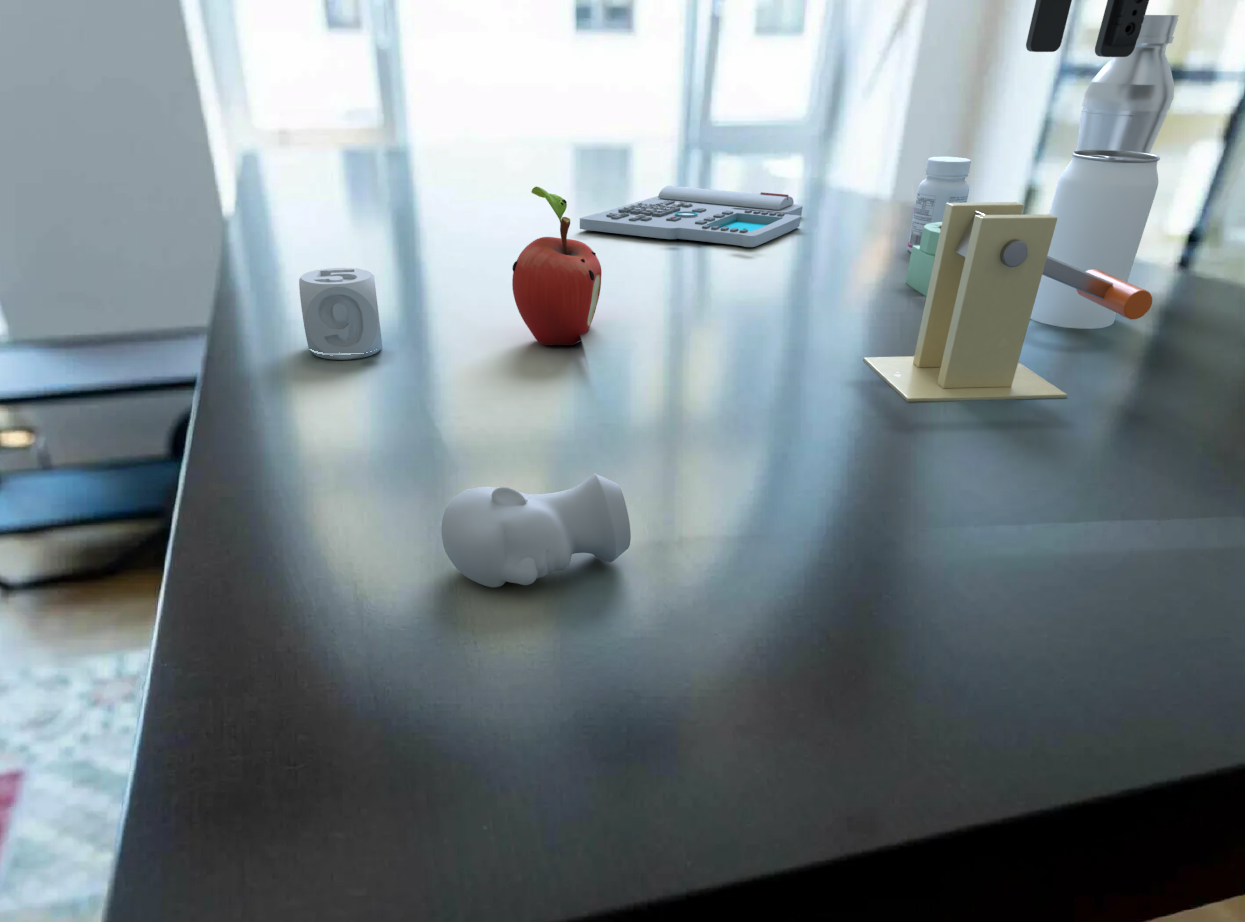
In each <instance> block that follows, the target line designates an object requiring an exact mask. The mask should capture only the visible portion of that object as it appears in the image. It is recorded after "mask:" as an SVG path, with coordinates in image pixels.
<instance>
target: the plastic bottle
mask: <svg viewBox="0 0 1245 922" xmlns="http://www.w3.org/2000/svg"><path fill="white" fill-rule="evenodd" d="M1179 17H1180V16H1179V15H1178V14H1145V15H1144V20H1143V23H1142V24H1141V25H1142V27H1141V31H1140V34H1139V37H1138V39H1137V42H1136V45H1135V48H1134V51H1133V52H1132V53H1131V54H1130V55H1129V56H1127V57H1110V59H1109V60H1108V61H1107V62H1106V63H1105V64H1104V65H1103V66H1102V68H1101V69H1100V70H1099V71H1098V72H1097V74H1096V75H1095V76H1094V77H1093V78H1092V79H1091V80H1090V82H1089V84H1088V85H1087V88H1086V90H1085V92H1084V94H1083V100H1082V105H1081V107H1082V110H1081V113H1080V119H1079V127H1078V133H1077V142H1076V146H1075V147H1076V148H1075V151H1079V150H1118V151H1131V152H1140V153H1147V154H1151V151H1152V149H1153V147H1154V144H1155V142H1156V140H1157V137H1158V135H1159V133H1160V131H1161V128H1162V127H1163V124H1164V122H1165V120H1166V118H1167V113H1168V111H1170V108H1171V105H1172V103H1173V100H1174V98H1175V97H1174V96H1175V81H1174V78H1173V72H1172V69H1171V66H1170V64H1169V61H1168V58H1167V55H1166V51H1167V46H1168V45H1169V44H1173V41H1174V38H1175V37H1174V33H1175V31H1176V27H1177V24H1178V22H1179V21H1178V20H1179Z"/></svg>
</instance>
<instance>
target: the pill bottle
mask: <svg viewBox="0 0 1245 922" xmlns="http://www.w3.org/2000/svg"><path fill="white" fill-rule="evenodd" d="M971 162H972V160H971V159H969V158H966V157H960V156H959V157H957V156H932V157H931V156H930V157H928V159H927V161H926V166H925V171H924V172H925V173H924V175H925V176H926V178H925V179H923V180H922V181H921V182H920V183H919V185H918V187H917V188H918V189H917V193H916V199H915V204H914V210H913V215H912V221H911V226H910V231H909V237H908V243H907V251H908V252H909V253H911V251H912V246H920V243H921V238H922V233H923V228H924V226H925V225H926V224H929V223H935V222H942V221H943V216H944V211H945V206H946V203H968V198H969V192H970V185H969V184H970V183H969V181H966V178H968V177H969V175H968V174H969V173H970V170H971V169H970V168H971Z"/></svg>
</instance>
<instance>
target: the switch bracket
mask: <svg viewBox="0 0 1245 922" xmlns="http://www.w3.org/2000/svg"><path fill="white" fill-rule="evenodd" d="M1023 209H1024V204H1023V203H1020V202H1016V201H988V202H987V201H985V202H984V201H983V202H982V201H980V202H979V201H978V202H977V201H976V202H975V201H973V202H970V201H969V202H967V203H946V206H945V211H944V216H943V221H942V225H941V230H940V235H939V240H938V245H937V249H936V254H935V259H934V264H933V269H932V273H931V278H930V283H929V288H928V293H927V296H925V297H926V298H925V302H924V308H923V313H922V318H921V322H920V326H919V331H918V337H917V340H916V345H915V351H914V354H913V356H912V355H911V356H864V357H863V358H862V361H863V362H864V363H865V364H866V365H867V366H868V367H869V368H871V369H872V370H873V371H874V372H875V373H876V375H878V376H879V377H880V378H881V379H882V380H883V381H885V383H887V384H888V385H889V386H890V387H891V388H892V389H893V390H894V391H895V392H896V393H897V394H898V395H899V396H900V397H902V398H903V399H904V400H905V401H906V402H908V403H909V402H911V403H913V402H915V403H916V402H949V401H985V400H988V401H990V400H991V401H992V400H993V401H994V400H1029V399H1061V398H1062V399H1064V398H1065V399H1067V397H1068V394H1067V393H1066V392H1064V391H1063V390H1061V389H1060V388H1058V387H1057V386H1055V385H1054V384H1052V383H1050V382H1049V381H1047V380H1046V379H1045V378H1043V377H1042V376H1040V375H1039V374H1038V373H1036V372H1035V371H1032V370H1031V369H1029V368H1028V367H1027V366H1025V365H1024V364H1022V363H1021V362H1019V360H1020V357H1021V354H1022V350H1023V348H1024V347H1023V346H1024V343H1025V339H1026V336H1027V332H1028V328H1029V325H1030V321H1031V319H1030V317H1031V314H1032V310H1033V306H1034V303H1035V299H1036V295H1037V292H1038V288H1039V284H1040V281H1041V277H1042V273H1043V270H1044V266H1045V262H1046V259H1047V255H1048V251H1049V248H1050V244H1051V240H1052V237H1053V233H1054V229H1055V226H1056V222H1057V217H1055V216H1052V215H1049V213H1048V214H1047V213H1046V214H1045V213H1041V214H1022V213H1023ZM976 211H978V212H981V213H983V214H986V215H975V218H974V222H973V227H972V231H971V236H970V240H969V245H968V249H967V253H966V258H965V257H963V256H961V255H959V254H957V253H955V249H956V247H957V245H958V244H959V242H960V240H961V238H962V236H963V234H964V232H965V230H966V229H967V227H968V225H969V223H970V221H971V219H972V217H973V215H974V213H975V212H976Z"/></svg>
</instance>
